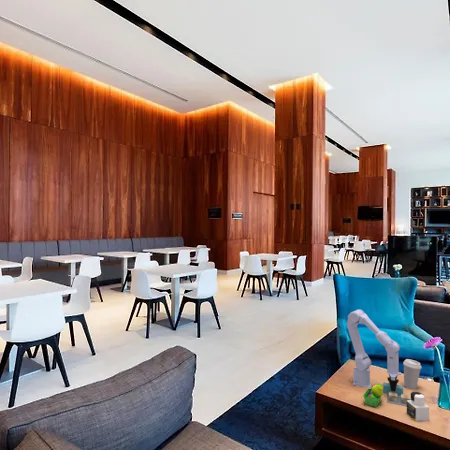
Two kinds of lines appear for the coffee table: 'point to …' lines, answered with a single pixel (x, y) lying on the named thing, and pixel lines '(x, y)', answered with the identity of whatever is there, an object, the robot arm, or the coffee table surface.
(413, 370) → the coffee cup
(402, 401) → the pillar far
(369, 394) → the fruit basket
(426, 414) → the medicine bottle
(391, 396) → the pillar near arm
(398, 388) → the lintel
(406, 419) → the coffee table surface
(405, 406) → the build plate
